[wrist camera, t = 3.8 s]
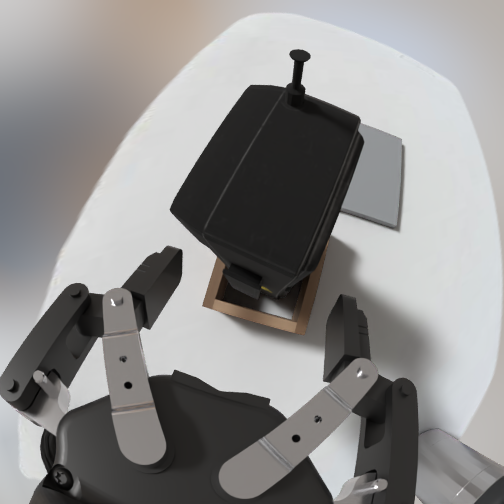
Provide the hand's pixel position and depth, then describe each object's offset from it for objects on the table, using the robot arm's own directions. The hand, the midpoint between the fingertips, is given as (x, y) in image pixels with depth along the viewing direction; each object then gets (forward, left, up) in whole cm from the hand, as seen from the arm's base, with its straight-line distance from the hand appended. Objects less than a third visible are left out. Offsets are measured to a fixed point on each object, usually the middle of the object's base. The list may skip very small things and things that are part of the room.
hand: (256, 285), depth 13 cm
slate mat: (-6, -19, -17) cm, 27 cm away
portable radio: (0, -3, -18) cm, 18 cm away
